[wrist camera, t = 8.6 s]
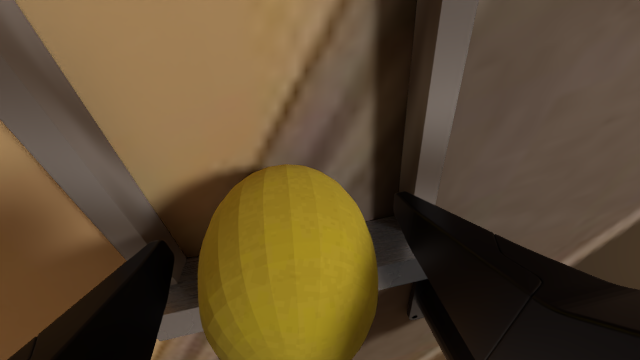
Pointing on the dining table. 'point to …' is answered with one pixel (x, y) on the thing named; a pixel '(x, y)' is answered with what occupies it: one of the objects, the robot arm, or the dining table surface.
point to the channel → (132, 206)
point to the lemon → (287, 270)
